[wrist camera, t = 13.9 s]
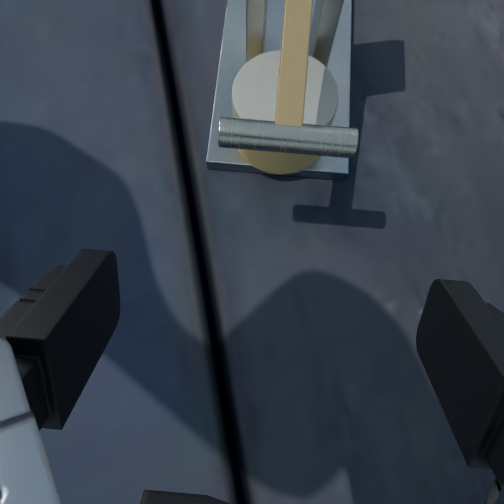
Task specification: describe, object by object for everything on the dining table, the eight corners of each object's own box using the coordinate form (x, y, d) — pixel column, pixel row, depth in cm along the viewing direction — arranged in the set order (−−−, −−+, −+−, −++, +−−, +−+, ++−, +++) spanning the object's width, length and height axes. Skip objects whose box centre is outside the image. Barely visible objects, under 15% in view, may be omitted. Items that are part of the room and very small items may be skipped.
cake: (214, 127, 28) (209, 86, 24) (283, 78, 29) (289, 32, 26) (275, 192, 27) (280, 159, 23) (345, 138, 28) (361, 98, 24)
